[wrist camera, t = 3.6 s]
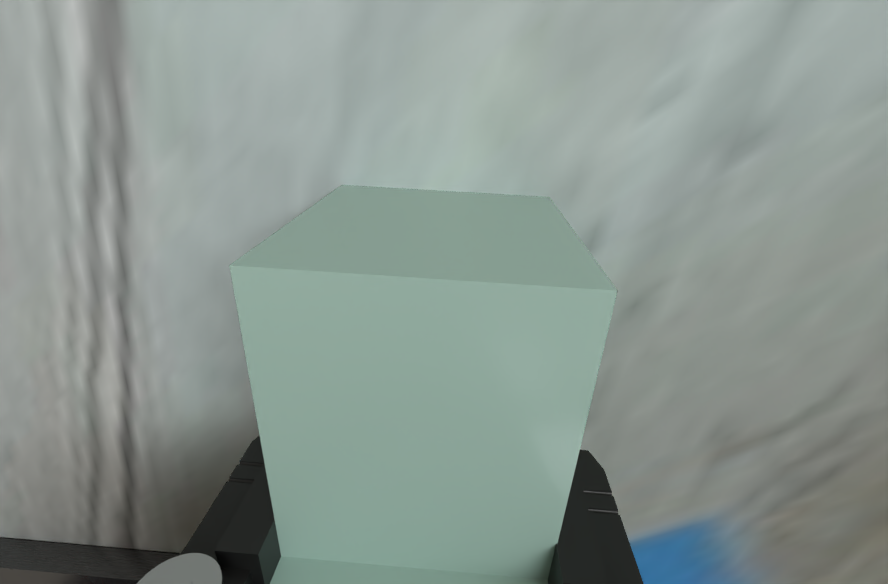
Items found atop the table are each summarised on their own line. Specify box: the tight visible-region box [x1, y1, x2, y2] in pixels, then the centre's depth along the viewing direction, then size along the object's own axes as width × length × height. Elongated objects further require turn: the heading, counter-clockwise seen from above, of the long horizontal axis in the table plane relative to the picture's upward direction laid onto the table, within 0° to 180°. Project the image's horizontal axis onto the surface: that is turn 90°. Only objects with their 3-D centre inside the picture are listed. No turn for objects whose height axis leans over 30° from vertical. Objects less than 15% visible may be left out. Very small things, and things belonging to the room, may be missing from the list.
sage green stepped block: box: [229, 185, 617, 584], centre depth 8 cm, size 5×10×8 cm, turn 177°
